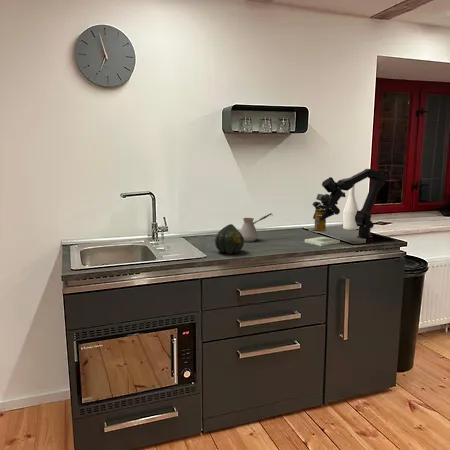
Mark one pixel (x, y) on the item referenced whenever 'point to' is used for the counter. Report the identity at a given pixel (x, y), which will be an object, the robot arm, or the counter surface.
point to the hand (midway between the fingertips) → (316, 219)
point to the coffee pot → (250, 229)
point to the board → (322, 241)
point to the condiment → (320, 225)
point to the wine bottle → (350, 212)
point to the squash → (229, 240)
